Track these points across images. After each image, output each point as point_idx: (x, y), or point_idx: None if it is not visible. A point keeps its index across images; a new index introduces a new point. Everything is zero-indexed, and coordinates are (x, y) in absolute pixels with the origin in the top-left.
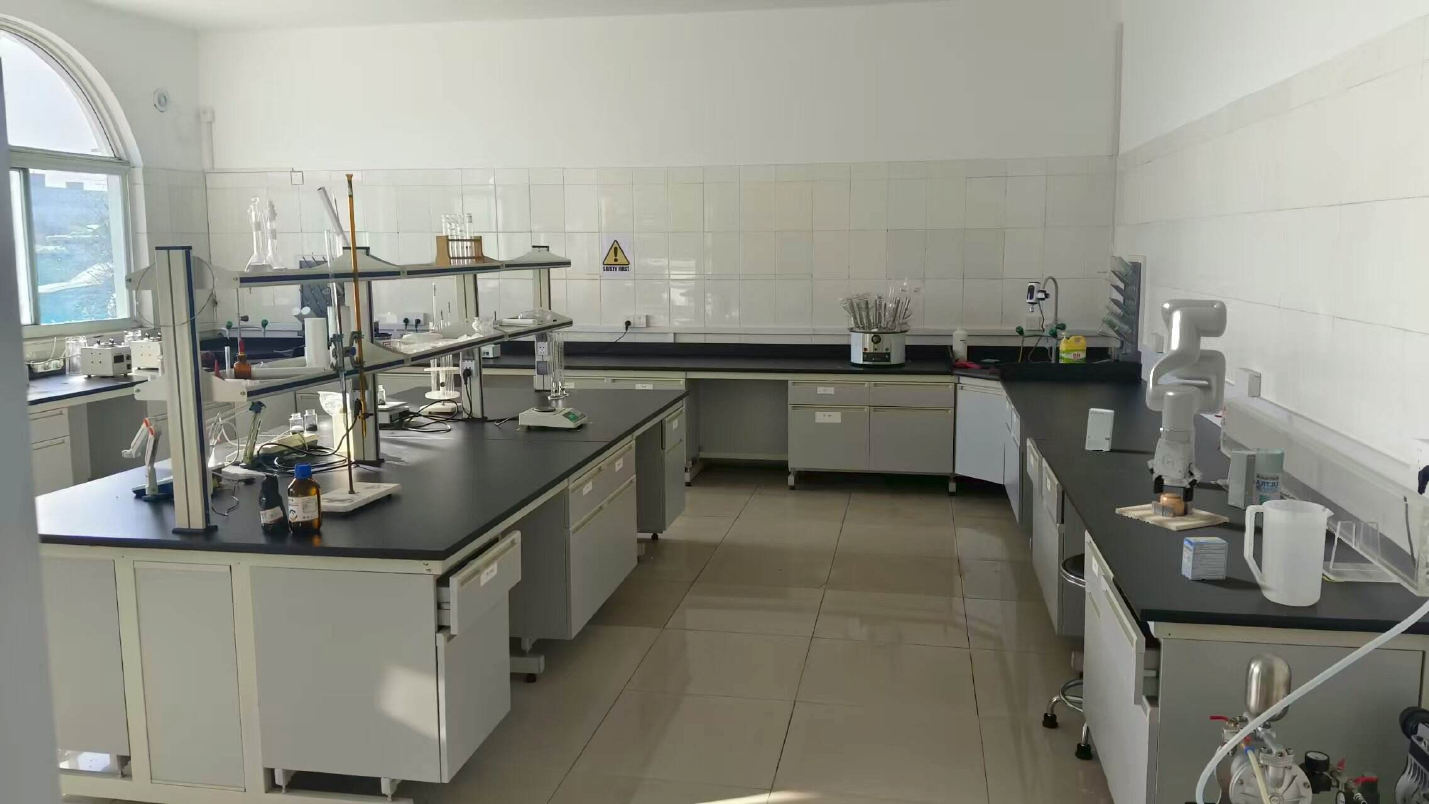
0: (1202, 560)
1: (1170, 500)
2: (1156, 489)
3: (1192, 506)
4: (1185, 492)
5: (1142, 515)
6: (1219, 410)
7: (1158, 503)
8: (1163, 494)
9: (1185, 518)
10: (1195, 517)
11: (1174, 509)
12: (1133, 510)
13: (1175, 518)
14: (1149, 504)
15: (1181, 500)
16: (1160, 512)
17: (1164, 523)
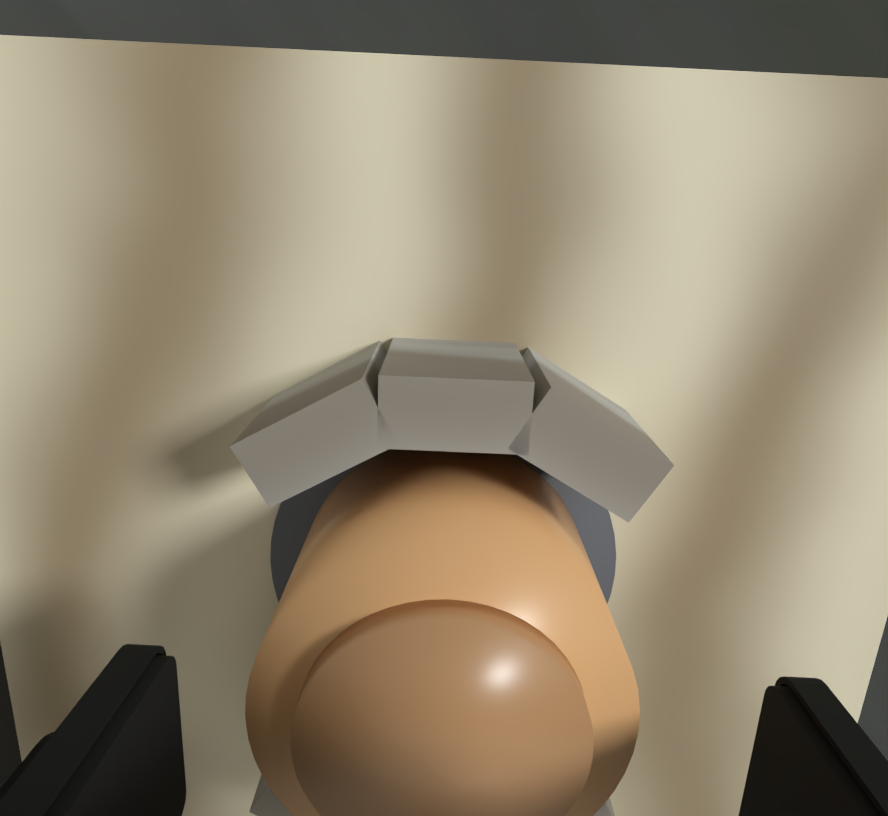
0: None
1: (345, 555)
2: (802, 748)
3: (262, 780)
4: (26, 793)
5: (557, 121)
6: None
7: (504, 423)
8: (636, 724)
9: (188, 508)
10: (178, 639)
11: (317, 524)
12: (809, 251)
13: (232, 399)
14: (855, 674)
15: (249, 692)
16: (418, 347)
17: (101, 44)
